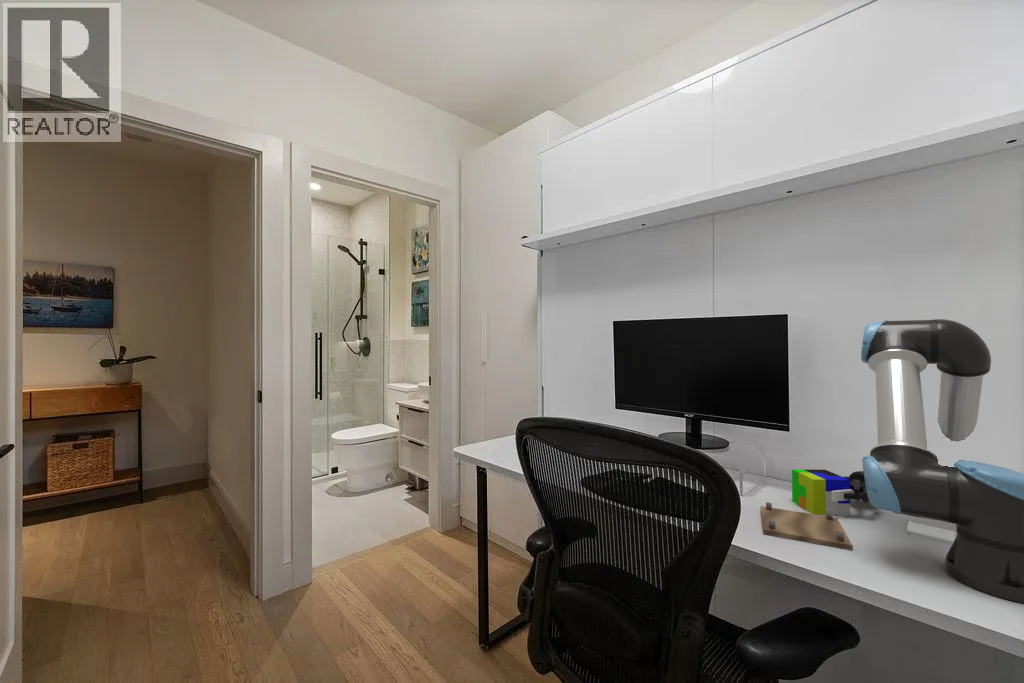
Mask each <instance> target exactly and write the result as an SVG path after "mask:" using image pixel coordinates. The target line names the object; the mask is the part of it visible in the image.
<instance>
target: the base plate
mask: <svg viewBox="0 0 1024 683" xmlns="http://www.w3.org/2000/svg"><path fill="white" fill-rule="evenodd" d="M772 506H773V503H772V502H769V501H767V502H765V506H764V505H763V506H762V505H760V517H761V525H762V526H761V527H762V534H763V535H766V536H771V537H776V538H782V539H787V540H791V541H792V540H793V541H798V542H804V543H810V544H813V545H814V544H815V545H820V546H825V547H830V548H831V547H832V548H838V549H841V550H846V551H847V550H848V551H854V550H853V548H854V547H853V544H852V542H851V540H850V538H849V536H848V535H847V533H846V531H845V529H844V527H843V525H842V524H841V522H840V520H839V519H838V517H834V515H833V513H832V512H828V511H827V512H826V515H815V514H812V513H810V512H808V513H807V512H803V511H802V512H801V511H795V510H788V509H782V508H776V507H772Z"/></svg>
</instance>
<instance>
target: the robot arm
mask: <svg viewBox="0 0 1024 683" xmlns="http://www.w3.org/2000/svg"><path fill="white" fill-rule="evenodd" d="M860 359H861V361H862V362H863V363H866V364H867V366H868V367H869V369H870V370H871V371H873V372H874V373H875V392H876V396H875V398H876V426H877V445H876V446H874V447H872V448H871V449H870V451H869V455H867V456H866V455H865V456H863V457H862V459H861V460H862V462H861V463H862V470H859V471H854V472H852V473H850V474H849V475H848V476H846V475H845V476H843V477H844V478H846V479H849V480H850V489H847V490H836V491H831V499H832V501H845V500H850V501H853V500H854V501H860V500H861V501H862V502H863V504H864V503H867V504H868V503H870V504H871V505H872V506H873V507H874V508H875V509H878V510H880V511H881V510H882V511H887V512H891V513H894V514H896V515H899V514H900V515H905V516H910V517H917V518H922V519H927V520H933V521H938V522H943V523H944V522H945V523H949V524H954V525H956V532H957V535H956V538H955V540H954V542H953V544H951V545H950V548H949V550H948V552H947V553H946V555H945V559H944V561H945V562H944V564H945V566H944V569H945V571H946V573H947V574H948V575H949V576H951V577H952V578H953V579H955V580H957V581H958V582H960V583H963V585H966V586H968V587H970V588H973V589H974V590H977V591H980V592H982V593H985V594H989V595H992V596H995V597H997V598H1000V599H1001V598H1002V599H1005V600H1009V601H1013V602H1017V603H1021V604H1024V473H1023V472H1020V471H1017V470H1013V469H1010V468H1007V467H1002V466H998V465H995V464H994V465H993V464H990V463H985V462H984V463H980V462H974V461H965V460H959V461H957V462H956V463H955V464H954V466H955V467H948V466H941V465H939V464H938V459H937V456H936V455H935V454H934V453H932V452H931V451H929V450H927V433H926V432H927V431H926V423H925V419H926V418H925V412H924V402H923V390H922V382H921V372H923V371H925V370H926V369H927V367H928V365H936V369H937V370H938V371H939V372H940V384H939V395H938V396H939V399H938V411H937V422H938V423H939V426H940V428H941V431H942V433H943V434H944V435H945V437H947V438H949V439H950V440H951V441H956V442H957V441H958V442H959V441H961V440H965V438H967V437H968V436H970V434H971V433H972V432H973V431H974V429H975V426H976V423H977V424H978V417H979V411H980V410H979V409H980V402H981V394H982V388H983V379H984V376H986V375H987V374H989V372H990V371H991V365H992V355H991V352H990V350H989V348H988V346H987V343H985V341H984V340H983V338H982V337H981V336H980V335H979V334H978V333H977V332H975V331H974V330H973V329H972V328H970V327H969V326H967V325H965V324H963V323H960V322H957V321H955V320H949V319H941V318H940V319H939V318H938V319H935V318H934V319H915V320H911V319H910V320H908V319H907V320H882V321H880V320H879V321H871V322H869V323H867V324H866V325H865V327H864V330H863V336H862V344H861V354H860Z"/></svg>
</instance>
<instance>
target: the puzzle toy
mask: <svg viewBox="0 0 1024 683" xmlns="http://www.w3.org/2000/svg"><path fill="white" fill-rule="evenodd" d="M847 489H850V480H849V479H846V478H844V476H841V475H840V474H837V473H834V472H831V471H830V470H827V469H808V468H807V469H804V468H803V469H801V468H800V469H799V468H797V469H795V468H794V469H793V468H792V469H791V500H792V501H793V502H794V504H795V503H796V504H795V505H797V506H798V505H799V507H800V508H802V509H803V508H804V510H806V511H807V512H808V511H809V512H808V513H809V514H815V515H822V516H826V512H827V511H828V512H832V513H833V516H851V500H845V501H832V499H831V491H836V490H847ZM793 502H792V503H793Z"/></svg>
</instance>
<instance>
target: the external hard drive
mask: <svg viewBox="0 0 1024 683" xmlns="http://www.w3.org/2000/svg"><path fill="white" fill-rule="evenodd" d="M906 534H907V535H909V534H910V536H913V535H915V537H918V536H919V538H922V537H923V538H922V539H926V538H928V539H927V540H931V539H932V540H931V541H935V540H937V541H936V542H939V541H942V542H941V543H944V542H946V543H945V544H948V543H950V545H952V544H953V542H954V540H955V538H956V535H957V531H955V530H950V529H945V528H940V527H936V526H932V525H927V524H923V523H918V522H914V521H908V522H907V528H906Z"/></svg>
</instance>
